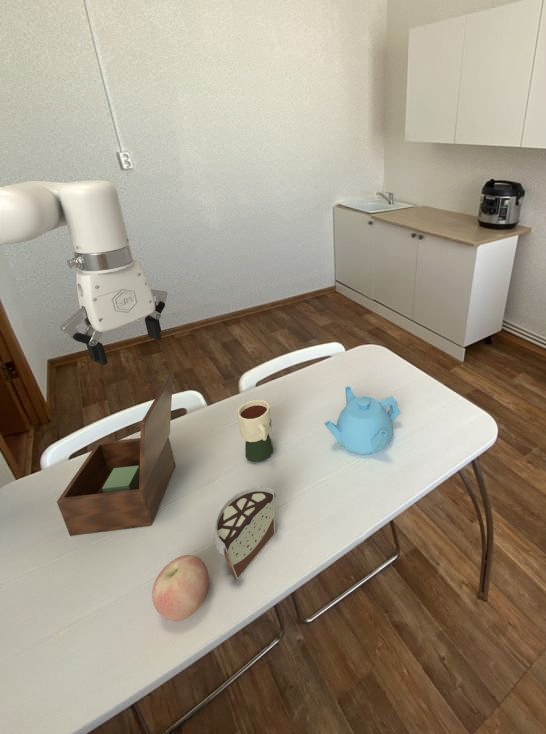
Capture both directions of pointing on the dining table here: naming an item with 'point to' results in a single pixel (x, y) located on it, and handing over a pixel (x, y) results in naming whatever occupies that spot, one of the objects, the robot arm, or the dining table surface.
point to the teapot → (364, 423)
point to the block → (122, 479)
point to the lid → (155, 431)
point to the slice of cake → (245, 527)
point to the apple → (180, 588)
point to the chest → (114, 509)
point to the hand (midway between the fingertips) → (129, 349)
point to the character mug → (256, 429)
